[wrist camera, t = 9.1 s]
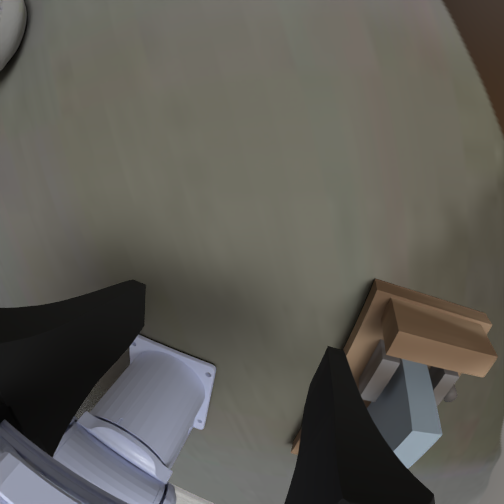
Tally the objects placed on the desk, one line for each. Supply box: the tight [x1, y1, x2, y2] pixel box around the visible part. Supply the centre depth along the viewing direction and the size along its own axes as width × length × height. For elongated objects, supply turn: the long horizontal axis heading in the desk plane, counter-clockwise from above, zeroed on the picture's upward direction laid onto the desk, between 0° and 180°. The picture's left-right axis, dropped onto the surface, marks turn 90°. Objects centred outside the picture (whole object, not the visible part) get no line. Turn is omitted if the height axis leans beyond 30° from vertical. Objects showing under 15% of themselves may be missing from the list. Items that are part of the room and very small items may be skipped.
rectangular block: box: [367, 358, 442, 469], centre depth 18 cm, size 10×3×6 cm, turn 168°
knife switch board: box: [291, 279, 498, 455], centre depth 20 cm, size 18×9×5 cm, turn 168°
